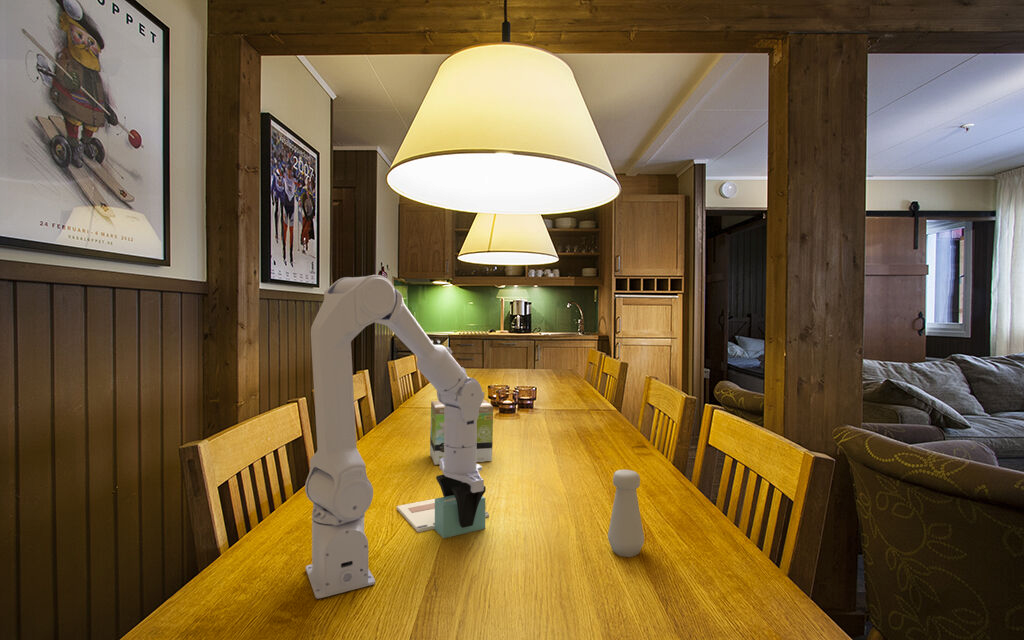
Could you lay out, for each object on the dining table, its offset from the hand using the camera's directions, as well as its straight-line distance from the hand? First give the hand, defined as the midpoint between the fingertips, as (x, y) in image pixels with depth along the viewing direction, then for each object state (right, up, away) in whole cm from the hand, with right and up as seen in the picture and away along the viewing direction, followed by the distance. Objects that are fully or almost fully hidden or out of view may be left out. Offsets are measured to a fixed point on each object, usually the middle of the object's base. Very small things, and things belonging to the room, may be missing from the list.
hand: (460, 520), depth 91 cm
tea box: (-4, -1, +43) cm, 43 cm away
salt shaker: (+28, -2, -8) cm, 29 cm away
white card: (-4, -1, +7) cm, 8 cm away
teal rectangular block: (0, -2, 0) cm, 2 cm away
